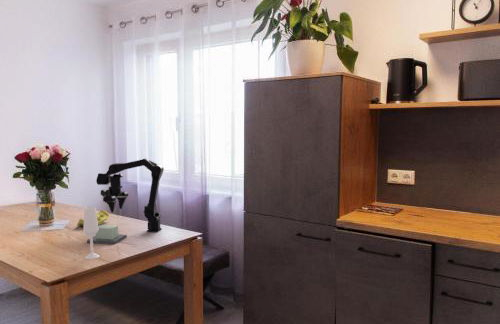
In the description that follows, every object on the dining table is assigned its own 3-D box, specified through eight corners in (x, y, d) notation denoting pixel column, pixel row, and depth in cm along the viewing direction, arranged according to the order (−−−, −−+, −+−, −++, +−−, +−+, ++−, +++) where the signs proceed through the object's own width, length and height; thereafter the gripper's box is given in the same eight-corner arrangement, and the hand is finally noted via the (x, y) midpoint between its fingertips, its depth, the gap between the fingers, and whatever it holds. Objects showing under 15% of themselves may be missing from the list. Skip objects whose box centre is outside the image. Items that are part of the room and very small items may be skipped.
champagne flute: (97, 258, 182) (95, 208, 180) (82, 259, 181) (80, 209, 179) (101, 254, 189) (99, 205, 186) (87, 254, 188) (85, 206, 186)
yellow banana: (91, 225, 234) (78, 217, 237) (88, 235, 237) (75, 227, 239) (112, 215, 253) (100, 208, 255) (109, 225, 255) (97, 217, 257)
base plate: (126, 237, 217) (126, 229, 216) (114, 244, 204) (113, 236, 204) (100, 235, 220) (100, 228, 219) (87, 242, 207) (86, 234, 207)
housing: (118, 236, 214) (117, 225, 213) (112, 239, 208) (112, 228, 207) (102, 235, 216) (101, 224, 215) (95, 238, 210) (95, 227, 209)
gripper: (111, 182, 239) (112, 206, 241) (94, 186, 221) (95, 213, 223) (128, 182, 237) (129, 207, 239) (111, 187, 219) (112, 214, 221)
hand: (116, 210), depth 230 cm, fingers open, 9 cm apart
